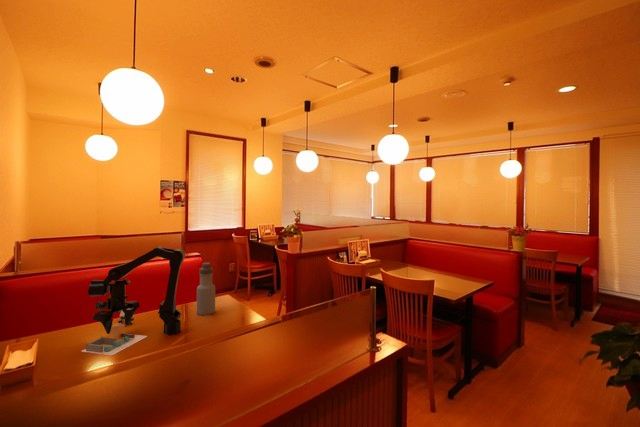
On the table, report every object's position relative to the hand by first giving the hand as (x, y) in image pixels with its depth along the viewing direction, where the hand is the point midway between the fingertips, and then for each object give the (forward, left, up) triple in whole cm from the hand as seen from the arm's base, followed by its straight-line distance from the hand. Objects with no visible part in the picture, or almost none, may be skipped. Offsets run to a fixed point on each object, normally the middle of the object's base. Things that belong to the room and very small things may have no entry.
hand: (117, 329), depth 131 cm
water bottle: (-18, -40, -5) cm, 44 cm away
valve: (+12, -16, -5) cm, 21 cm away
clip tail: (-7, +10, -4) cm, 12 cm away
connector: (-3, 0, -3) cm, 5 cm away
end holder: (-2, +10, -4) cm, 10 cm away
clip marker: (-7, +5, -4) cm, 9 cm away
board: (-4, +5, -4) cm, 8 cm away
